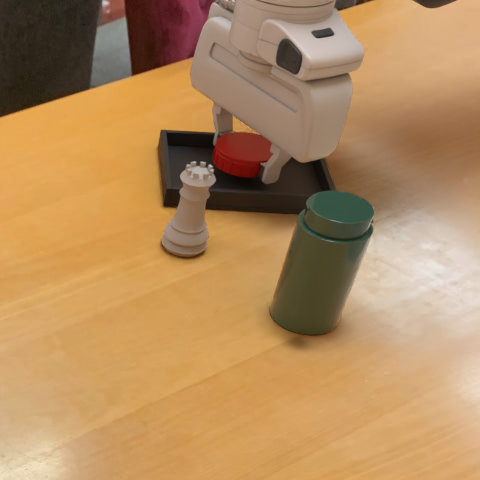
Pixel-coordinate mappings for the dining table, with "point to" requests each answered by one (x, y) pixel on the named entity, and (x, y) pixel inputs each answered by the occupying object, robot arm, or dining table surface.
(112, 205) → the dining table surface
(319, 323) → the jar
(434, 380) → the dining table surface
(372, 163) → the dining table surface
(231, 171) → the lid
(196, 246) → the rook chess piece
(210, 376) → the dining table surface
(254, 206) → the tray
